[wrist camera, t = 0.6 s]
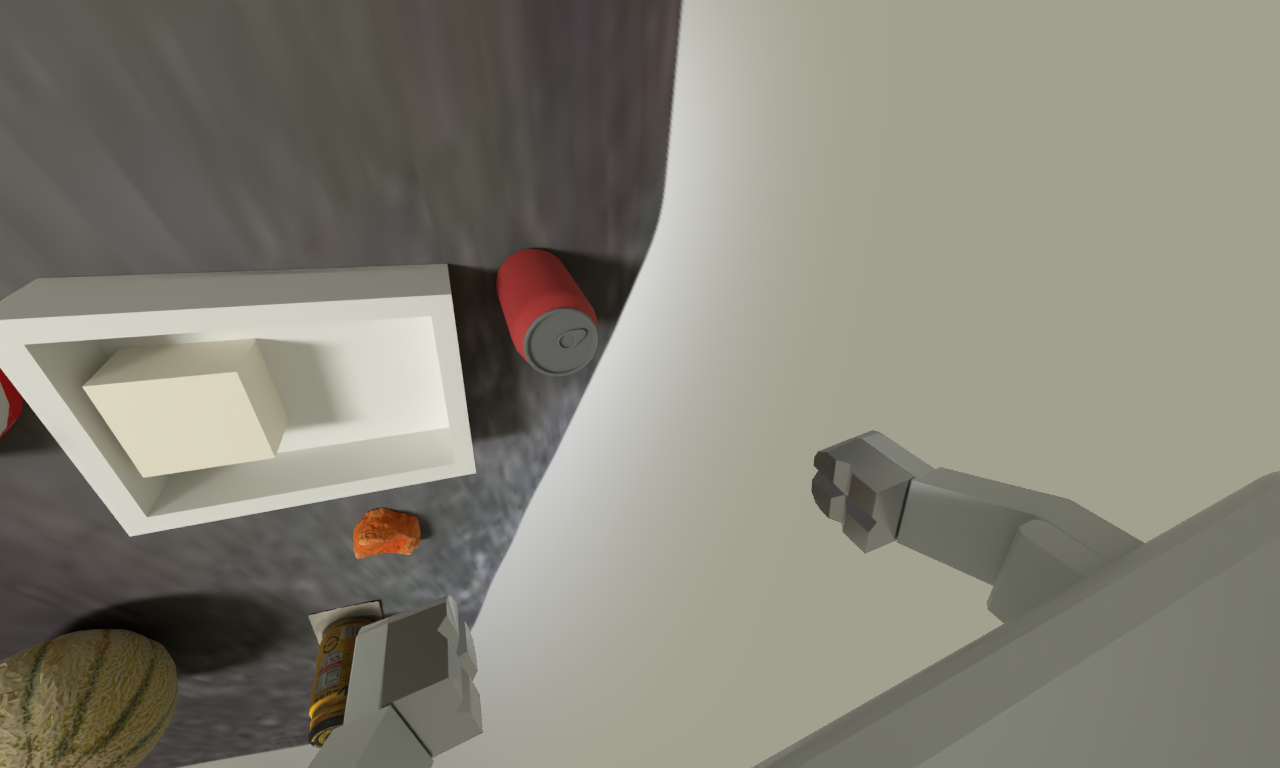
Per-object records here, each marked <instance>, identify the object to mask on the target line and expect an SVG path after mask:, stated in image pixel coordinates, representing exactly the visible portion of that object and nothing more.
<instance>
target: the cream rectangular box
mask: <svg viewBox="0 0 1280 768" xmlns="http://www.w3.org/2000/svg"><path fill="white" fill-rule="evenodd" d="M82 387H83V389H84V390H85V392H86V393H87V395H88V396H89V398H90V399H91V401H92V402H93V404H94V405H95V407H96V408H97V410H98V411H99V413H100V414H101V416H102V417H103V419H104V420H105V422H106V423H107V425H108V426H109V428H110V429H111V430H112V432H113V433H114V435H115V436H116V438H117V439H118V441H119V442H120V444H121V445H122V447H123V448H124V450H125V451H126V453H127V454H128V456H129V457H130V459H131V460H132V462H133V463H134V465H135V466H136V468H137V469H138V471H139V472H140V474H141V475H142V477H143V478H145V477H152V476H159V475H165V474H172V473H179V472H185V471H192V470H198V469H205V468H212V467H218V466H225V465H231V464H238V463H245V462H251V461H258V460H264V459H271V458H275V457H276V454H277V451H278V449H279V446H280V443H281V440H282V437H283V434H284V431H285V429H286V426H287V423H288V417H287V415H286V412H285V410H284V407H283V405H282V402H281V400H280V397H279V395H278V392H277V390H276V387H275V385H274V382H273V380H272V377H271V375H270V372H269V370H268V367H267V365H266V362H265V360H264V357H263V355H262V352H261V350H260V347H259V345H258V342H257V340H256V338H251V339H238V340H225V341H212V342H199V343H186V344H172V345H159V346H146V347H133V348H120V349H119V350H118V351H117V352H116V353H115V354H114V355H113V356H112V357H111V358H110V359H109V360H108V361H107V362H106V363H105V364H104V365H103V366H102V367H101V368H100V369H99V370H98V371H97V372H96V373H95V374H94V375H93V376H92V377H91V378H90V379H89V380H88V381H87V382H86V383H85V384H84V385H83V386H82Z"/></svg>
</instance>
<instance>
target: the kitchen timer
mask: <svg viewBox="0 0 1280 768" xmlns="http://www.w3.org/2000/svg"><path fill="white" fill-rule="evenodd" d="M22 405H23V397H22V395H21V394H20V393H19V391H18V390H17V389H16V388H15V386H14V385H13V384H12V382H11V381H10V380H9V378H8V377H7V376H6V375H5V373H4V372H3V371H2V369H1V368H0V438H1V437H2V436H3V435H4V434H5V433H6V432H7V431H8V430H9V429H10V427H11V426H12V425H13V424H14V422H15V421H16V420H17V419H18V417H19V416H20V415H21V412H22Z"/></svg>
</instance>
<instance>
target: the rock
mask: <svg viewBox="0 0 1280 768" xmlns="http://www.w3.org/2000/svg"><path fill="white" fill-rule="evenodd" d="M418 522H419V520H418V518H417V517H415V516H413V515H407V514H405V513H398V512H394V511H391V510H390V509H386V508H384V507H382V508H378V509H375V510H372V511H369V512H367V513H366V514H365V517H364V518H363V519H362V520H361V522H360V523H359V524H357V526H356V527H355V529H354V535H353V541H354V553H355V557H356V558H358V559H361V558H364V557H367V556H370V555H376V554H380V553H389V552H391V553H400V554H407V555H410V554H412V551H414V550H415V549H416V548H417V547H418V546H419V543H420V541H419V540H420V535H421V531H420V527H419V524H418Z"/></svg>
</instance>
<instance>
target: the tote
mask: <svg viewBox="0 0 1280 768" xmlns="http://www.w3.org/2000/svg"><path fill="white" fill-rule="evenodd" d="M251 338H256V340H257V342H258V345H259V347H260V350H261V352H262V355H263V357H264V360H265V362H266V365H267V367H268V370H269V372H270V375H271V377H272V380H273V382H274V385H275V387H276V390H277V392H278V395H279V397H280V400H281V402H282V405H283V407H284V410H285V412H286V415H287V417H288V423H287V426H286V429H285V431H284V434H283V437H282V440H281V443H280V446H279V449H278V451H277V454H276V457H275V458H271V459H264V460H258V461H251V462H245V463H238V464H231V465H225V466H218V467H212V468H205V469H198V470H192V471H185V472H179V473H172V474H165V475H159V476H152V477H145V478H143V477H142V475H141V474H140V472H139V471H138V469H137V468H136V466H135V465H134V463H133V462H132V460H131V459H130V457H129V456H128V454H127V453H126V451H125V450H124V448H123V447H122V445H121V444H120V442H119V441H118V439H117V438H116V436H115V435H114V433H113V432H112V430H111V429H110V428H109V426H108V425H107V423H106V422H105V420H104V419H103V417H102V416H101V414H100V413H99V411H98V410H97V408H96V407H95V405H94V404H93V402H92V401H91V399H90V398H89V396H88V395H87V393H86V392H85V390H84V389H83V387H82V386H83V385H84V384H85V383H86V382H87V381H88V380H89V379H90V378H91V377H92V376H93V375H94V374H95V373H96V372H97V371H98V370H99V369H100V368H101V367H102V366H103V365H104V364H105V363H106V362H107V361H108V360H109V359H110V358H111V357H112V356H113V355H114V354H115V353H116V352H117V351H118V350H119V349H120V348H133V347H146V346H159V345H172V344H186V343H199V342H212V341H225V340H238V339H251ZM0 368H1V369H2V371H3V372H4V373H5V375H6V376H7V377H8V378H9V380H10V381H11V382H12V384H13V385H14V386H15V388H16V389H17V390H18V391H19V393H20V394H21V395H22V397H23V398H24V399H25V401H26V402H27V403H28V404H29V406H30V407H31V408H32V410H33V411H34V412H35V414H36V415H37V416H38V418H39V419H40V420H41V421H42V423H43V424H44V425H45V427H46V428H47V429H48V431H49V432H50V433H51V434H52V436H53V437H54V438H55V440H56V441H57V442H58V444H59V445H60V446H61V447H62V449H63V450H64V451H65V453H66V454H67V455H68V457H69V458H70V459H71V461H72V462H73V463H74V464H75V466H76V467H77V468H78V470H79V471H80V472H81V474H82V475H83V476H84V477H85V479H86V480H87V481H88V483H89V484H90V485H91V487H92V488H93V489H94V490H95V492H96V493H97V494H98V496H99V497H100V498H101V500H102V501H103V502H104V503H105V505H106V506H107V507H108V509H109V510H110V511H111V513H112V514H113V515H114V517H115V518H116V519H117V520H118V522H119V523H120V524H121V526H122V527H123V528H124V530H125V531H126V532H127V533H128V535H129V536H135V535H141V534H146V533H152V532H157V531H162V530H168V529H173V528H179V527H184V526H190V525H195V524H201V523H206V522H212V521H217V520H222V519H228V518H233V517H239V516H244V515H250V514H255V513H261V512H266V511H272V510H277V509H282V508H288V507H293V506H299V505H304V504H310V503H315V502H321V501H326V500H332V499H337V498H342V497H348V496H353V495H359V494H364V493H370V492H375V491H381V490H386V489H392V488H397V487H402V486H408V485H413V484H419V483H424V482H430V481H435V480H441V479H446V478H452V477H457V476H462V475H468V474H473V473H476V470H475V463H474V455H473V448H472V440H471V433H470V426H469V418H468V411H467V404H466V397H465V389H464V382H463V375H462V367H461V360H460V353H459V346H458V338H457V331H456V324H455V316H454V309H453V302H452V294H451V287H450V280H449V273H448V265H447V264H425V265H397V266H368V267H340V268H312V269H284V270H256V271H228V272H200V273H172V274H144V275H116V276H88V277H60V278H38V279H36V280H34V281H33V282H31V283H29V284H28V285H26V286H24V287H23V288H21V289H19V290H18V291H16V292H14V293H13V294H11V295H9V296H8V297H6V298H4V299H3V300H1V301H0Z"/></svg>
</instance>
